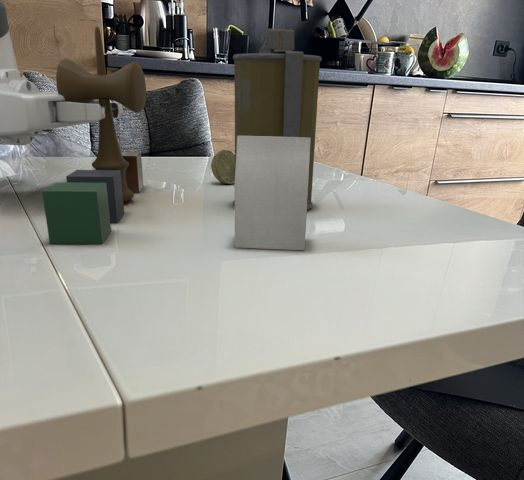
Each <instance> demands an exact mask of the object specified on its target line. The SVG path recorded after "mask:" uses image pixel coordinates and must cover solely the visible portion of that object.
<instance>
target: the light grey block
mask: <svg viewBox="0 0 524 480" xmlns="http://www.w3.org/2000/svg"><path fill="white" fill-rule="evenodd" d="M310 140H311V138H307V137H272V136H237V151H236V170H235V183H234V200H235V206H234V248H235V249H236V248H238V249H259V250H260V249H263V250H284V251H285V250H286V251H305V250H306V249H305V247H306V232H307V231H306V230H307V212H308V210H307V196H308V177H309V159H310Z"/></svg>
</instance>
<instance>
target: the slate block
mask: <svg viewBox="0 0 524 480" xmlns="http://www.w3.org/2000/svg"><path fill="white" fill-rule="evenodd" d="M65 176H66V177H65V180H66V182H72V183H106V185H107V195H108V205H109V215H110V224H118V223H119V221H120V220H121V219H122V217H123V216H124V215H125V207H124V205H125V204H124V202H123V193H122V182H121V171H120V170H95V169H75V170H74V171H72V172H71V173H69V174H67V175H65Z"/></svg>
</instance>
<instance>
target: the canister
mask: <svg viewBox="0 0 524 480" xmlns="http://www.w3.org/2000/svg"><path fill="white" fill-rule="evenodd" d="M294 50H295V30H294V29H283V28H266V29H265V30H263V31H262V32H261V45H260V48H259V53H257V52H255V53H254V52H253V53H236V54H235V53H234V54H233V56H232V60H233V61H234V155H235V170H236V151H237V136H272V137H307V138H311V140H310V159H309V177H308V196H307V211H309V210H310V209H312V208H313V202H312V197H313V196H312V195H313V178H314V162H315V148H316V147H315V146H316V132H317V115H318V112H317V111H318V97H319V82H320V69H321V68H320V67H321V62H322V59H323V58H322V56H320V55H313V54H304V51H297V50H295V51H294ZM232 205H233V206H234V207H235V199H234V200H233V201H232Z"/></svg>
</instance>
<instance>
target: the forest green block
mask: <svg viewBox="0 0 524 480" xmlns="http://www.w3.org/2000/svg"><path fill="white" fill-rule="evenodd" d="M41 193H42V201H43V207H44V214H45V219H46V228H47V233H48V242H49V244H51V245H103V244H104V242H105V241H106V239H107V238H108V237H109V235H110V234H111V232H112V226H111V224H112V223H110V215H109V205H108V195H107V185H106V183H72V182H67V181H66V182H61V181H60V182H59V181H57V182H54V183H53V184H51V185H49V186H48V187H46V188H44V189H42V191H41Z"/></svg>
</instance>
